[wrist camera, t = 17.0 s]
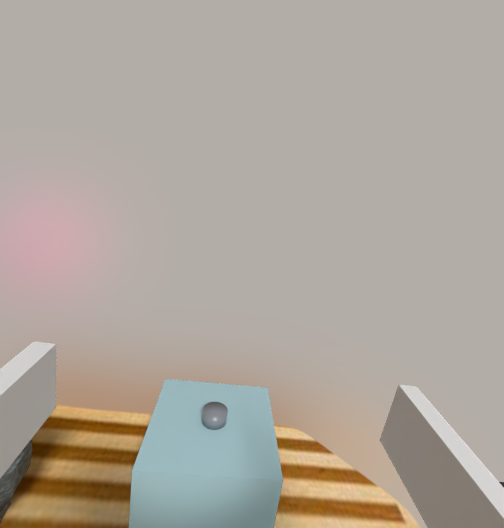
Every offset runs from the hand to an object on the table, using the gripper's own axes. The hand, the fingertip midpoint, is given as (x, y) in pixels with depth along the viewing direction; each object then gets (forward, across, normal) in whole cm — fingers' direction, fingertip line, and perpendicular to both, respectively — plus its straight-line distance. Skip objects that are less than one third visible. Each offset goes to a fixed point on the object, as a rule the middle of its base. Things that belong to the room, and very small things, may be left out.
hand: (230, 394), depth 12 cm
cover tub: (+14, +1, -25) cm, 29 cm away
